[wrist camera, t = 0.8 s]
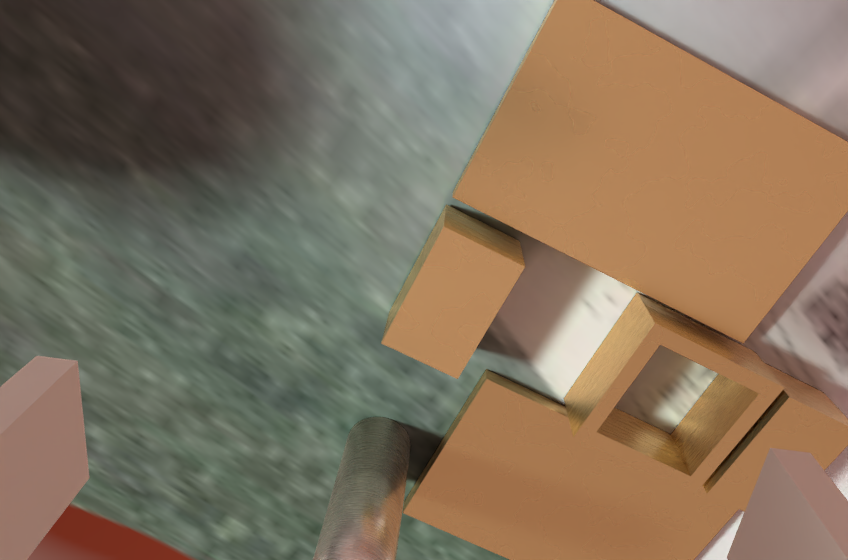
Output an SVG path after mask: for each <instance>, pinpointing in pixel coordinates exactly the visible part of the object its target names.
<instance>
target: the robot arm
mask: <svg viewBox="0 0 848 560" xmlns="http://www.w3.org/2000/svg"><path fill="white" fill-rule="evenodd" d="M88 479H89V469H88V460H87V450H86V440H85V430H84V420H83V410H82V400H81V390H80V381H79V371H78V361H75V360H67V359H59V358H51V357H43V356H36V357H35V358H34V359H32V360H31V361H30V362H29V363H28V364H27V365H25V366H24V367H23V368H22V369H21V370H20V371H18V372H17V373H16V374H15V375H14V376H13V377H11V378H10V379H9V380H8V381H7V382H5V383H4V384H3V385H2V386H1V387H0V560H27V559H28V557H29V556H30V555H31V553H32V552H33V551H34V549H35V548H36V547H37V545H38V544H39V543H40V542H41V540H42V539H43V538H44V536H45V535H46V534H47V532H48V531H49V530H50V528H51V527H52V526H53V524H54V523H55V522H56V521H57V519H58V518H59V517H60V515H61V514H62V513H63V512H64V510H65V509H66V508H67V506H68V505H69V504H70V502H71V501H72V500H73V498H74V497H75V496H76V495H77V493H78V492H79V491H80V489H81V488H82V487H83V485H84V484H85V483H86V482H87V480H88ZM727 559H728V560H848V501H847V499H846V498H845V497H844V495H843V494H842V493H841V492H840V490H839V489H838V488H837V486H836V485H835V484H834V483H833V481H832V480H831V479H830V477H829V476H828V475H827V474H826V472H825V471H824V470H823V468H822V467H821V466H820V465H819V463H818V462H817V461H816V459H815V458H814V457H813V456H812V454H811V453H808V452H800V451H792V450H784V449H776V448H770V449H769V452H768V454H767V457H766V459H765V462H764V464H763V467H762V470H761V472H760V475H759V477H758V480H757V482H756V485H755V487H754V490H753V492H752V495H751V497H750V500H749V502H748V505H747V508H746V510H745V513H744V515H743V518H742V520H741V523H740V525H739V528H738V530H737V533H736V535H735V538H734V540H733V543H732V546H731V548H730V551H729V553H728V556H727Z"/></svg>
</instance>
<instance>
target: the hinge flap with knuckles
mask: <svg viewBox="0 0 848 560" xmlns="http://www.w3.org/2000/svg"><path fill="white" fill-rule="evenodd" d="M453 198H455V199H457V200H459V201H461V202H463V203H465V204H467V205H469V206H471V207H473V208H475V209H477V210H479V211H481V212H483V213H485V214H487V215H489V216H491V217H493V218H495V219H497V220H499V221H501V222H503V223H505V224H507V225H509V226H511V227H513V228H515V229H517V230H519V231H521V232H523V233H525V234H527V235H529V236H531V237H533V238H535V239H537V240H539V241H541V242H543V243H545V244H547V245H549V246H551V247H553V248H555V249H556V250H558V251H560V252H562V253H564V254H566V255H568V256H570V257H572V258H574V259H576V260H578V261H580V262H582V263H584V264H586V265H588V266H590V267H592V268H594V269H596V270H598V271H600V272H602V273H604V274H606V275H608V276H610V277H612V278H614V279H616V280H618V281H620V282H622V283H624V284H626V285H628V286H630V287H632V288H634V289H636V290H638V291H640V292H642V293H644V294H646V295H648V296H650V297H652V298H654V299H656V300H658V301H660V302H662V303H664V304H666V305H668V306H670V307H672V308H674V309H676V310H678V311H680V312H682V313H684V314H686V315H688V316H690V317H692V318H694V319H696V320H698V321H700V322H702V323H704V324H706V325H708V326H710V327H712V328H714V329H716V330H718V331H720V332H722V333H724V334H726V335H728V336H729V337H731V338H733V339H735V340H737V341H739V342H741V343H744V342H745V341H746V339H747V338H748V337H749V336H750V334H751V333H752V332H753V331H754V329H755V328H756V327H757V326H758V324H759V323H760V322H761V320H762V319H763V318H764V317H765V315H766V314H767V313H768V312H769V310H770V309H771V308H772V307H773V305H774V304H775V303H776V301H777V300H778V299H779V298H780V296H781V295H782V294H783V293H784V291H785V290H786V289H787V287H788V286H789V285H790V284H791V282H792V281H793V280H794V279H795V277H796V276H797V275H798V274H799V272H800V271H801V270H802V268H803V267H804V266H805V265H806V263H807V262H808V261H809V260H810V258H811V257H812V256H813V255H814V253H815V252H816V251H817V249H818V248H819V247H820V246H821V244H822V243H823V242H824V241H825V239H826V238H827V237H828V236H829V234H830V233H831V232H832V230H833V229H834V228H835V227H836V225H837V224H838V223H839V222H840V220H841V219H842V218H843V216H844V215H845V214H846V213H847V211H848V142H847V141H845V140H844V139H842V138H840V137H838V136H837V135H835V134H833V133H831V132H829V131H828V130H826V129H824V128H822V127H820V126H819V125H817V124H815V123H813V122H811V121H810V120H808V119H806V118H804V117H802V116H801V115H799V114H797V113H795V112H793V111H792V110H790V109H788V108H786V107H784V106H783V105H781V104H779V103H777V102H775V101H774V100H772V99H770V98H768V97H766V96H765V95H763V94H761V93H759V92H758V91H756V90H754V89H752V88H750V87H749V86H747V85H745V84H743V83H741V82H740V81H738V80H736V79H734V78H732V77H731V76H729V75H727V74H725V73H723V72H722V71H720V70H718V69H716V68H714V67H713V66H711V65H709V64H707V63H705V62H704V61H702V60H700V59H698V58H696V57H695V56H693V55H691V54H689V53H688V52H686V51H684V50H682V49H680V48H679V47H677V46H675V45H673V44H671V43H670V42H668V41H666V40H664V39H662V38H661V37H659V36H657V35H655V34H653V33H652V32H650V31H648V30H646V29H644V28H643V27H641V26H639V25H637V24H635V23H634V22H632V21H630V20H628V19H626V18H625V17H623V16H621V15H619V14H617V13H616V12H614V11H612V10H610V9H609V8H607V7H605V6H603V5H601V4H600V3H598V2H596V1H594V0H554V2H553V4H552V6H551V8H550V10H549V11H548V13H547V15H546V17H545V19H544V21H543V23H542V25H541V27H540V28H539V30H538V32H537V34H536V36H535V38H534V40H533V42H532V44H531V45H530V47H529V49H528V51H527V53H526V55H525V57H524V59H523V61H522V62H521V64H520V66H519V68H518V70H517V72H516V74H515V76H514V78H513V79H512V81H511V83H510V85H509V87H508V89H507V91H506V93H505V95H504V96H503V98H502V100H501V102H500V104H499V106H498V108H497V110H496V112H495V113H494V115H493V117H492V119H491V121H490V123H489V125H488V127H487V128H486V130H485V132H484V134H483V136H482V138H481V140H480V142H479V144H478V145H477V147H476V149H475V151H474V153H473V155H472V157H471V159H470V161H469V162H468V164H467V166H466V168H465V170H464V172H463V174H462V176H461V178H460V179H459V181H458V183H457V185H456V187H455V189H454V191H453ZM524 268H525V264H524V259H523V254H522V250H521V245H520V241H518V240H516V239H514V238H512V237H510V236H508V235H506V234H504V233H502V232H500V231H498V230H496V229H494V228H492V227H490V226H488V225H486V224H484V223H482V222H480V221H478V220H476V219H474V218H472V217H470V216H468V215H466V214H464V213H462V212H460V211H458V210H456V209H455V208H453V207H451V206H449V205H447V204H446V206H445V208H444V210H443V212H442V213H441V215H440V217H439V219H438V221H437V223H436V225H435V227H434V229H433V230H432V232H431V234H430V236H429V238H428V240H427V242H426V244H425V246H424V247H423V249H422V251H421V253H420V255H419V257H418V259H417V261H416V263H415V264H414V266H413V268H412V270H411V272H410V274H409V276H408V278H407V280H406V281H405V283H404V285H403V287H402V289H401V291H400V293H399V295H398V296H397V298H396V300H395V302H394V304H393V306H392V308H391V310H390V312H389V315H388V319H387V323H386V327H385V331H384V335H383V338H382V342H381V343H382V344H384V345H386V346H388V347H390V348H393V349H395V350H397V351H399V352H401V353H403V354H405V355H408V356H410V357H412V358H414V359H416V360H418V361H420V362H423V363H425V364H427V365H429V366H431V367H433V368H435V369H438V370H440V371H442V372H444V373H446V374H448V375H450V376H452V377H455V378H457V379H458V377H459V376H460V374H461V372H462V371H463V369H464V367H465V366H466V364H467V363H468V361H469V359H470V358H471V356H472V354H473V353H474V351H475V349H476V348H477V346H478V344H479V343H480V341H481V339H482V338H483V336H484V334H485V333H486V331H487V329H488V328H489V326H490V324H491V323H492V321H493V319H494V318H495V316H496V314H497V313H498V311H499V310H500V308H501V306H502V305H503V303H504V301H505V300H506V298H507V296H508V295H509V293H510V291H511V290H512V288H513V286H514V285H515V283H516V281H517V280H518V278H519V276H520V275H521V273H522V271H523V270H524Z"/></svg>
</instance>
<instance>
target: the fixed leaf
mask: <svg viewBox="0 0 848 560" xmlns="http://www.w3.org/2000/svg"><path fill="white" fill-rule="evenodd" d="M660 345H662V346H664V347H666V348H668V349H670V350H672V351H674V352H676V353H678V354H680V355H682V356H684V357H686V358H688V359H690V360H692V361H694V362H696V363H698V364H700V365H702V366H704V367H706V368H708V369H710V370H712V371H715V372H717V373H719V374H718V375H717V377H716V378H715V379H714V380H713V382H712V383H711V384H710V385H709V387H708V388H707V389H706V390H705V392H704V393H703V394H702V396H701V397H700V398H699V399H698V401H697V402H696V403H695V404H694V406H693V407H692V408H691V410H690V411H689V412H688V413H687V415H686V416H685V417H684V418H683V420H682V421H681V422H680V423H679V425H678V426H677V427H676V429H675V430H674V431H673V432H672V434H669V433H667V432H665V431H663V430H660V429H658V428H656V427H654V426H652V425H650V424H648V423H646V422H644V421H642V420H639V419H637V418H635V417H633V416H631V415H629V414H627V413H625V412H623V411H621V410H618V409H616V408H614V407H615V406H616V404H617V403H618V402H619V400H620V399H621V397H622V396H623V395H624V393H625V392H626V391H627V389H628V388H629V387H630V385H631V384H632V382H633V381H634V380H635V378H636V377H637V376H638V374H639V373H640V372H641V370H642V369H643V367H644V366H645V365H646V363H647V362H648V361H649V359H650V358H651V356H652V355H653V354H654V352H655V351H656V350H657V348H658V347H659V346H660ZM564 401H565V406H566V407H565V406H563V405H561V404H559V403H556V402H554V401H552V400H550V399H548V398H546V397H544V396H542V395H540V394H537V393H535V392H533V391H531V390H529V389H527V388H525V387H523V386H520V385H518V384H516V383H514V382H512V381H510V380H508V379H506V378H504V377H501V376H499V375H497V374H495V373H493V372H491V371H489V370H487V369H486V370H485V372H484V373H483V375H482V377H481V378H480V380H479V381H478V383H477V385H476V386H475V388H474V390H473V391H472V393H471V394H470V396H469V398H468V399H467V401H466V402H465V404H464V406H463V407H462V409H461V410H460V412H459V414H458V415H457V417H456V419H455V420H454V422H453V423H452V425H451V427H450V428H449V430H448V431H447V433H446V435H445V436H444V438H443V440H442V441H441V443H440V444H439V446H438V448H437V449H436V451H435V452H434V454H433V456H432V457H431V459H430V460H429V462H428V464H427V465H426V467H425V469H424V470H423V472H422V473H421V475H420V477H419V478H418V480H417V481H416V483H415V485H414V486H413V488H412V489H411V491H410V493H409V494H408V496H407V498H406V499H405V501H404V508H403V513H404V514H407V515H409V516H411V517H414V518H416V519H418V520H420V521H423V522H425V523H427V524H430V525H432V526H434V527H436V528H439V529H441V530H443V531H446V532H448V533H450V534H452V535H455V536H457V537H459V538H462V539H464V540H466V541H468V542H471V543H473V544H475V545H478V546H480V547H482V548H485V549H487V550H489V551H491V552H494V553H496V554H498V555H501V556H503V557H505V558H507V559H510V560H694V559H695V558H696V557H697V556H698V555H699V553H700V552H701V551H702V550H703V549H704V548H705V547H706V546H707V544H708V543H709V542H710V541H711V540H712V539H713V538H714V537H715V535H716V534H717V533H718V532H719V531H720V530H721V529H722V528H723V526H724V525H725V524H726V523H727V522H728V521H729V520H730V519H731V517H732V516H733V515H734V514H735V513H736V512H737V511H738V510H739V509H740V510H742V511H745V510H746V508H747V505H748V502H749V500H750V497H751V495H752V492H753V490H754V487H755V485H756V482H757V480H758V477H759V475H760V472H761V470H762V467H763V464H764V462H765V459H766V457H767V454H768V452H769V449H770V448H776V449H784V450H792V451H800V452H808V453H811V454H812V456H813V457H814V458H815V459H816V461H817V462H818V463H819V465H820V466H821V467H822V468H823V470H825V469H826V468H827V467H828V466H829V465H830V464H831V463H832V462H833V461H834V460H835V459H836V457H837V456H838V455H839V454H840V453H841V452H842V451H843V450H844V449H845V448H846V447H847V446H848V419H847V417H846V416H845V415H844V414H843V413H842V412H841V411H840V410H839V409H838V408H837V407H836V406H835V404H834V403H833V402H832V401H831V400H830V399H829V398H828V397H827V396H826V395H825V394H824V393H823V392H822V391H820V390H818V389H816V388H814V387H812V386H810V385H808V384H806V383H804V382H802V381H800V380H798V379H796V378H794V377H792V376H790V375H788V374H786V373H784V372H782V371H780V370H778V369H776V368H774V367H772V366H770V365H768V364H766V363H764V362H763V361H762V360H761V359H760V357H759V356H758V355H757V354H756V353H755V352H754V351H753V350H751V349H749V348H747V347H745V346H743V345H741V344H739V343H737V342H735V341H733V340H731V339H729V338H727V337H725V336H723V335H721V334H719V333H717V332H715V331H713V330H711V329H709V328H707V327H705V326H703V325H701V324H699V323H697V322H695V321H693V320H691V319H689V318H687V317H685V316H683V315H681V314H679V313H677V312H675V311H673V310H671V309H669V308H667V307H665V306H663V305H661V304H659V303H657V302H655V301H653V300H651V299H649V298H647V297H645V296H643V295H641V294H639V293H636V295H635V296H634V297H633V299H632V300H631V302H630V303H629V305H628V306H627V308H626V309H625V310H624V312H623V313H622V315H621V316H620V318H619V319H618V321H617V322H616V324H615V325H614V326H613V328H612V329H611V331H610V332H609V334H608V335H607V337H606V338H605V339H604V341H603V342H602V344H601V345H600V347H599V348H598V350H597V351H596V353H595V354H594V355H593V357H592V358H591V360H590V361H589V363H588V364H587V366H586V367H585V368H584V370H583V371H582V373H581V374H580V376H579V377H578V379H577V380H576V382H575V383H574V384H573V386H572V387H571V389H570V390H569V392H568V393H567V395H566V396H565V397H564Z"/></svg>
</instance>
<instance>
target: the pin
mask: <svg viewBox="0 0 848 560" xmlns="http://www.w3.org/2000/svg"><path fill="white" fill-rule="evenodd" d="M410 449H411V442H410V438H409V435H408V433H407V432H406V430H405V429H404V428H403V427H402V426H401V425H400V424H398V423H397V422H395V421H393V420H391V419H388V418H384V417H370V418H366V419H363V420H361V421H359V422H358V423H356V424H355V425H354V426H353V427H352V429H351V430H350V432H349V435H348V438H347V442H346V445H345V449H344V452H343V456H342V459H341V463H340V466H339V470H338V473H337V477H336V480H335V484H334V488H333V491H332V495H331V498H330V502H329V505H328V509H327V512H326V516H325V519H324V523H323V526H322V530H321V533H320V537H319V541H318V544H317V548H316V551H315V555H314V558H313V560H396V554H397V547H398V539H399V531H400V524H401V516H402V509H403V501H404V494H405V486H406V479H407V471H408V464H409V456H410Z"/></svg>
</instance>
